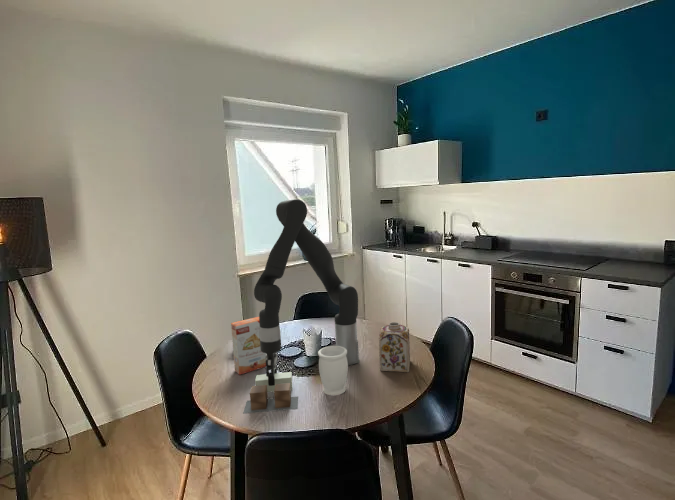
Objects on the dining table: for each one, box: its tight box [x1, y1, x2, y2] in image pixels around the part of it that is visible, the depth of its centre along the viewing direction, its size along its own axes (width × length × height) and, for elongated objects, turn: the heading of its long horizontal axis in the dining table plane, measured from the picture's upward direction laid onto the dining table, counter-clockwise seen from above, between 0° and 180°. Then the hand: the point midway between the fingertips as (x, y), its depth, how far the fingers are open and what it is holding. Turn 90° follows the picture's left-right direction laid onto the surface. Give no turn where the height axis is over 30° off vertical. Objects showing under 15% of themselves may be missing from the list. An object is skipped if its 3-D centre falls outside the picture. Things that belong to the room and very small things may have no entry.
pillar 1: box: [249, 385, 269, 410], centre depth 128 cm, size 5×5×6 cm
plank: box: [254, 371, 293, 393], centre depth 139 cm, size 13×4×6 cm, turn 96°
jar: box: [317, 345, 349, 396], centre depth 136 cm, size 11×10×15 cm
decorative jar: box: [378, 321, 411, 373], centre depth 153 cm, size 12×12×18 cm
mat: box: [242, 396, 299, 414], centre depth 128 cm, size 18×8×1 cm, turn 94°
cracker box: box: [230, 316, 266, 376], centre depth 157 cm, size 14×6×21 cm, turn 126°
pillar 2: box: [273, 383, 292, 408], centre depth 128 cm, size 5×5×6 cm
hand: (273, 379), depth 139 cm, fingers open, 8 cm apart
